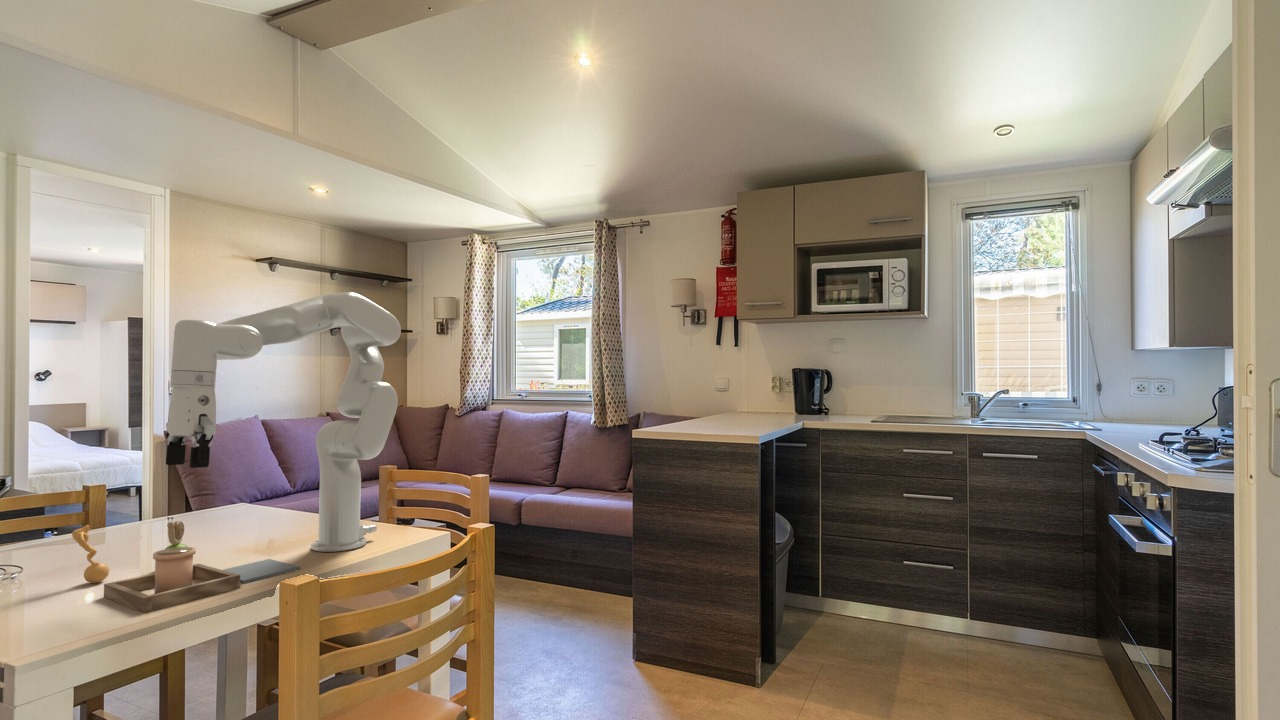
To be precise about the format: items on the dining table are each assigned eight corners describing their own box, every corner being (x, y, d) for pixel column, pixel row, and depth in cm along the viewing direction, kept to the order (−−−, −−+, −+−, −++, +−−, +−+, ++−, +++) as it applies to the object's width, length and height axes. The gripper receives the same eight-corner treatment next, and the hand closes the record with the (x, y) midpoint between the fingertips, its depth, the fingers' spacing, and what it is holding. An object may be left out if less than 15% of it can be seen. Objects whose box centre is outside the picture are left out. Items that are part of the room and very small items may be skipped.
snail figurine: (153, 574, 137) (155, 517, 137) (166, 566, 143) (168, 512, 144) (182, 572, 138) (184, 516, 139) (194, 564, 145) (196, 511, 145)
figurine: (111, 584, 130) (113, 525, 130) (72, 591, 125) (74, 530, 126) (105, 576, 135) (107, 519, 136) (67, 582, 131) (69, 523, 131)
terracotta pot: (184, 585, 129) (185, 544, 130) (201, 590, 126) (202, 549, 126) (144, 594, 124) (146, 552, 124) (161, 600, 120) (163, 557, 120)
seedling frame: (198, 575, 136) (198, 563, 136) (240, 587, 128) (240, 574, 128) (103, 597, 122) (104, 584, 122) (143, 612, 114) (144, 598, 114)
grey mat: (269, 561, 147) (269, 558, 147) (299, 569, 141) (300, 566, 141) (212, 574, 136) (212, 571, 136) (243, 583, 130) (243, 580, 130)
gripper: (235, 381, 128) (229, 467, 127) (192, 382, 137) (186, 462, 136) (194, 379, 122) (187, 469, 120) (151, 380, 131) (145, 464, 129)
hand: (186, 465), depth 128 cm, fingers open, 9 cm apart
